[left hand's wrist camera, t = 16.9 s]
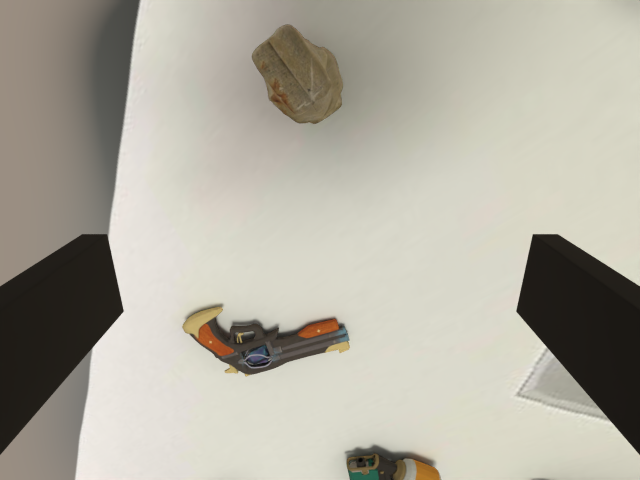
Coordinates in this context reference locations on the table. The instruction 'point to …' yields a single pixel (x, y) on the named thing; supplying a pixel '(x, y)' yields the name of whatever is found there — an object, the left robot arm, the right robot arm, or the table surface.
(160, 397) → the table surface
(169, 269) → the table surface
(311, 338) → the toy gun
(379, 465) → the spray gun
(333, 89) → the sculpture
